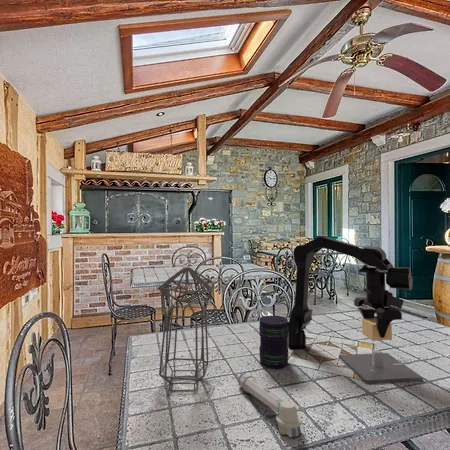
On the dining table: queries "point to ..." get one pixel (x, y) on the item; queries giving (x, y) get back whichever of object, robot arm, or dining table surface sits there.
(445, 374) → the dining table surface
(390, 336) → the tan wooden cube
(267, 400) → the toothbrush head
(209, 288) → the geometric lantern
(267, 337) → the dark purple barrel
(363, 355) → the hub plate
